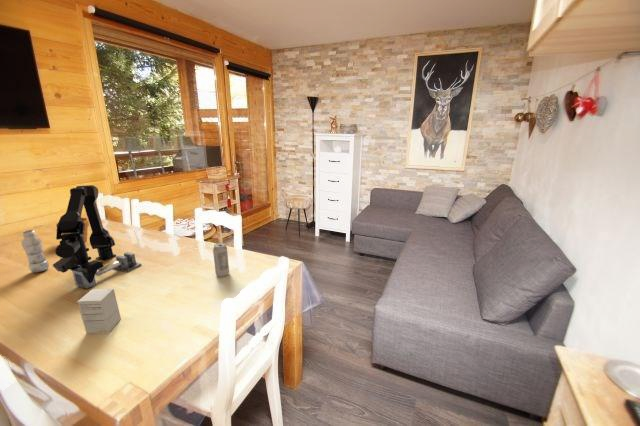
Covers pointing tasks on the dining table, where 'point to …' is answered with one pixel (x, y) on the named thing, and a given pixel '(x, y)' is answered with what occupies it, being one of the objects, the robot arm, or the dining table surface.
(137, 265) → the shaft stand
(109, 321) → the supplement box
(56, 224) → the flower pot
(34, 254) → the plastic bottle
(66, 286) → the dining table surface
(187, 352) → the dining table surface
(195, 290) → the dining table surface
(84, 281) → the hollow rectangular metal block
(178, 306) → the dining table surface
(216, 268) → the energy drink can
